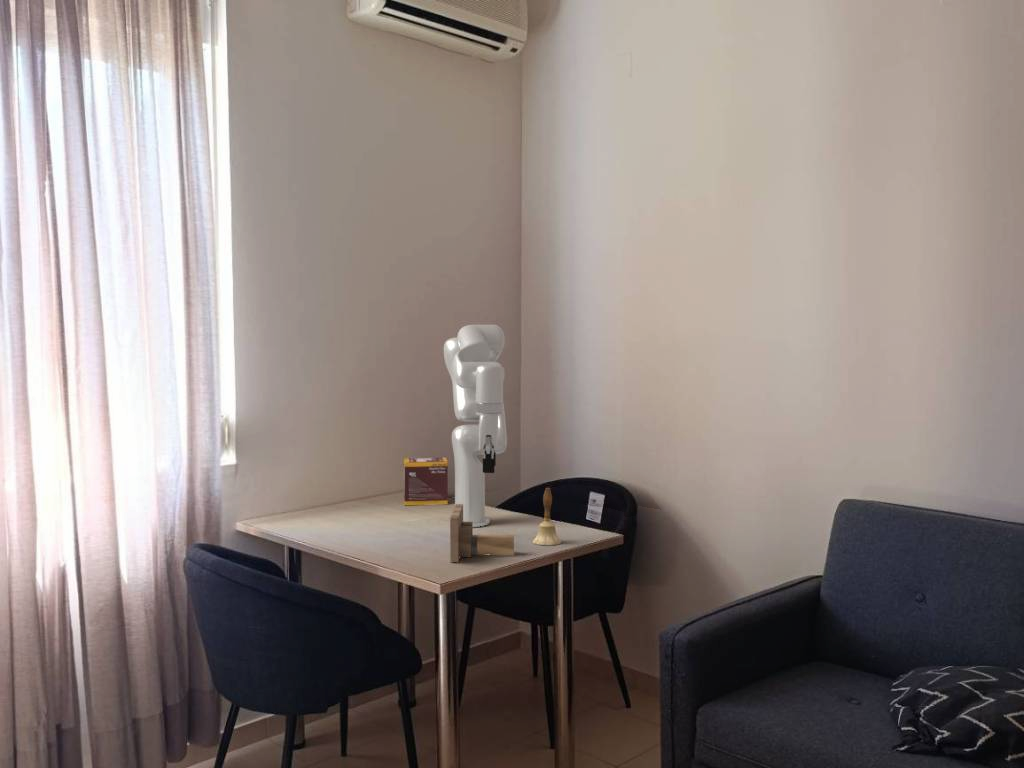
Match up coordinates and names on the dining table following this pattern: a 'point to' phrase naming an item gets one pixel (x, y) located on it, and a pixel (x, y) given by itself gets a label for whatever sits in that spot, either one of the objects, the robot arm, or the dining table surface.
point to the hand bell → (547, 524)
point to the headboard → (460, 535)
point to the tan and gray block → (492, 544)
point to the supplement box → (425, 481)
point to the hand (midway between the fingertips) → (489, 469)
